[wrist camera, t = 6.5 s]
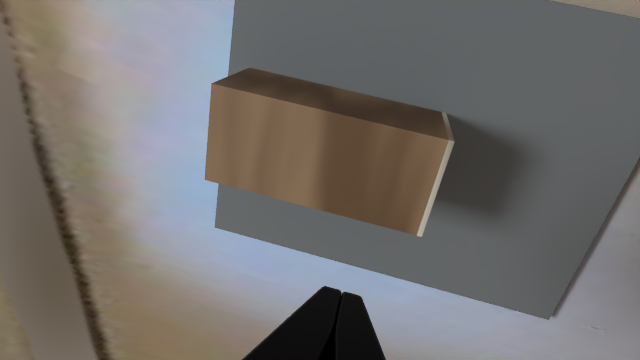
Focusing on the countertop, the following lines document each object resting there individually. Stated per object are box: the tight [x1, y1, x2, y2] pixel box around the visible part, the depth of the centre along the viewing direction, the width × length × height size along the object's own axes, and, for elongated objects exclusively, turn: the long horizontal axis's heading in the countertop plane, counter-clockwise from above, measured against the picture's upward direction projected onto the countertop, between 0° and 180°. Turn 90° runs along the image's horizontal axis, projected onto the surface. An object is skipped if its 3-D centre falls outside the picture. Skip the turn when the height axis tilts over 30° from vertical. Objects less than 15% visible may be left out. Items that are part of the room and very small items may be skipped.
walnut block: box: [205, 67, 455, 237], centre depth 18 cm, size 4×4×9 cm
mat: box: [215, 0, 640, 320], centre depth 19 cm, size 18×14×1 cm
